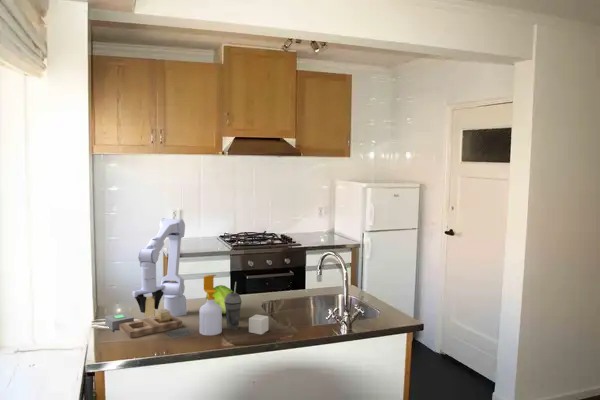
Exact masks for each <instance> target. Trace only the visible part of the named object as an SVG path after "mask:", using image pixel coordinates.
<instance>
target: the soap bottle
mask: <svg viewBox="0 0 600 400" xmlns="http://www.w3.org/2000/svg"><path fill="white" fill-rule="evenodd" d="M216 276H217V274H210V275H209V274H208V275H204V276H203V290H204V292H205V293H206V295H207V294H209V297H207V302H206V301H205V303H204V304H203V305H201V306H200V307H199V310H198V311H199V312H198V313H199V317H198V318H199V320H198V321H199V325H198V326H199V327H198V328H199V334H200V335H203V336H216V335H219V334H221V333H222V332H223V330H222V329H223V322H222V320H223V318H222V317H223V316H222V315H223V314H222V308H221V306H219V305H218V304H216V303H215V297H213V294H214V293H215V292H217V291H216V290H215V289H214V287H215V286H214V277H216Z"/></svg>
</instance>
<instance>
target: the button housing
mask: <svg viewBox="0 0 600 400" xmlns="http://www.w3.org/2000/svg"><path fill="white" fill-rule="evenodd" d="M117 315H123V316H125V318H120V319H115V318H114V316H117ZM132 321H135V318H134V316H132V315H131V314H129V313H128V312H126V311H125V312H120V313H115V314H110V315H105V317H104V323H105V324H106V326H105V327H107V326H108V327H109V328H110V329H109V328H108V327H107V328H108V329H109V330H110V331H111V332H115V330H120V328H119V324H122V323H127V322H132ZM105 324H104V325H105Z"/></svg>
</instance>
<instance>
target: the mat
mask: <svg viewBox="0 0 600 400" xmlns="http://www.w3.org/2000/svg"><path fill="white" fill-rule="evenodd" d="M164 333H165V334H166V335H168V336H169V337H171V338H172V339H177V338H183V337H187V336H191V335H195V332H192V331H191V330H190V329H187V328H186V327H179V328H175V329H170V330H166V331H164Z"/></svg>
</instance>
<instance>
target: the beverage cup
mask: <svg viewBox="0 0 600 400" xmlns="http://www.w3.org/2000/svg"><path fill="white" fill-rule="evenodd" d="M233 288H234V290H233V292H231V293H229V294H227V296H226V297H225V301H224V303H225V307H226V313H225V316H226V325H227V327H226V328H227V329H229V330H235V331H236V330H238V329H239V325H240V313H241V307H242V302H243V301H242V298H241V295H240V294H239V293H237V292H236V291H237V290H236V289H237V281H235V282H234V287H233Z"/></svg>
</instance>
